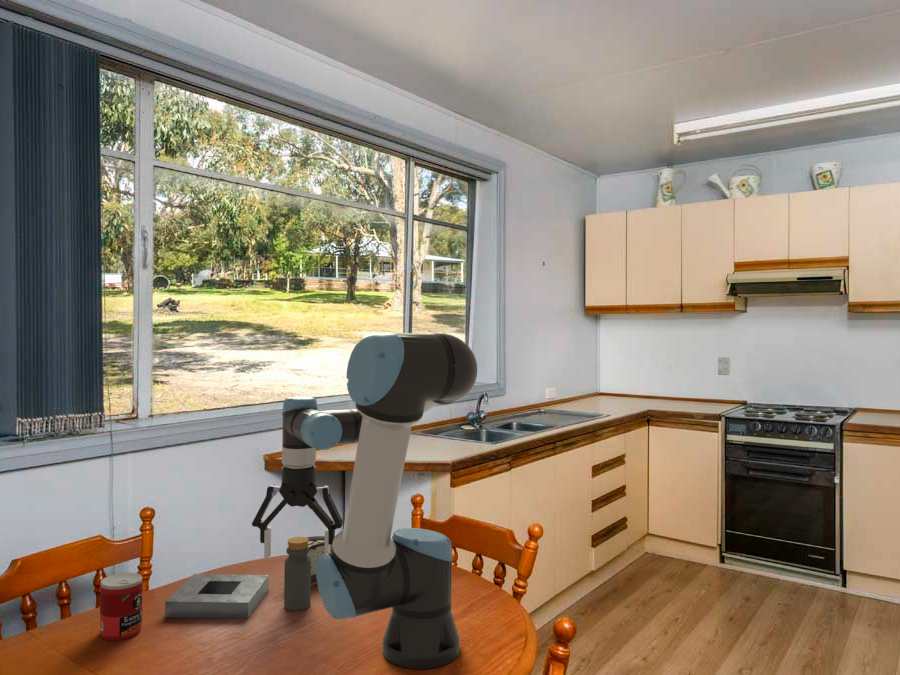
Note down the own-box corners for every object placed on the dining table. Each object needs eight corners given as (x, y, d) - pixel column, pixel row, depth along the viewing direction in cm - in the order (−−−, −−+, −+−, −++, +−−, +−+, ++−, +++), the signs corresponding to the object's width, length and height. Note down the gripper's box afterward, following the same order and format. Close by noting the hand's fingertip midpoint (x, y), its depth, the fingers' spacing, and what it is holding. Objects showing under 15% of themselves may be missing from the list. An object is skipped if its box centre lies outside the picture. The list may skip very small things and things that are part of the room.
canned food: (125, 643, 129) (125, 588, 129) (90, 638, 131) (91, 584, 131) (150, 626, 137) (151, 574, 137) (117, 622, 138) (117, 570, 138)
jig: (248, 618, 141) (248, 602, 141) (165, 617, 141) (165, 601, 141) (268, 589, 157) (268, 574, 157) (193, 588, 157) (194, 574, 157)
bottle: (301, 598, 152) (302, 534, 152) (315, 605, 148) (316, 540, 148) (279, 605, 148) (279, 539, 148) (292, 613, 144) (293, 545, 144)
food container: (317, 570, 170) (317, 532, 170) (333, 575, 166) (334, 536, 166) (279, 585, 160) (279, 544, 160) (296, 591, 156) (296, 549, 156)
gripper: (356, 462, 152) (354, 552, 152) (249, 460, 151) (247, 550, 152) (351, 469, 144) (349, 564, 145) (238, 467, 144) (237, 562, 144)
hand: (297, 557), depth 148 cm, fingers open, 13 cm apart
